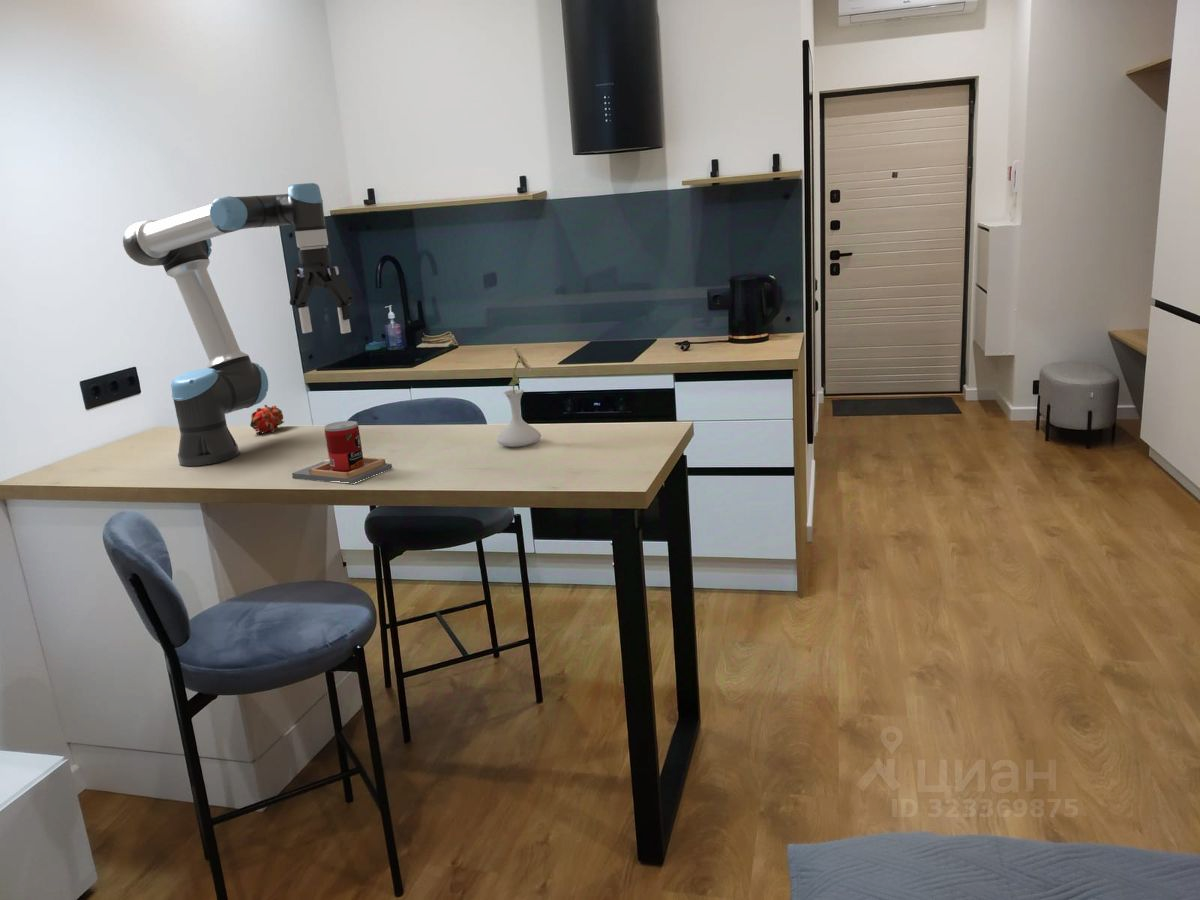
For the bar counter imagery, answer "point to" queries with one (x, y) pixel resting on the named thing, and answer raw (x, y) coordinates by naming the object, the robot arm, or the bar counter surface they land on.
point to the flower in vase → (517, 415)
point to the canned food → (344, 446)
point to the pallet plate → (325, 472)
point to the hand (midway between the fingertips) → (326, 332)
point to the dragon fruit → (266, 419)
